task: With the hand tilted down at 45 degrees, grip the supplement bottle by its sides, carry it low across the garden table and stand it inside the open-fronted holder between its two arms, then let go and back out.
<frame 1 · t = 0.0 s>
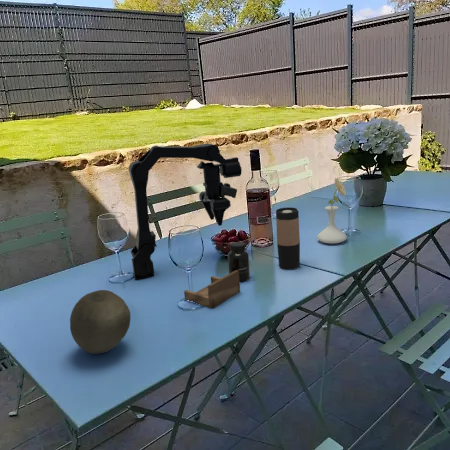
hand: (216, 222, 156), 15 cm above the table, tool pointing down, fingers open, 9 cm apart
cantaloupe: (105, 349, 107), on the table
supplement bottle: (239, 278, 142), on the table
holder: (212, 295, 131), on the table
travel mug: (289, 266, 149), on the table
flower in vase: (333, 241, 171), on the table
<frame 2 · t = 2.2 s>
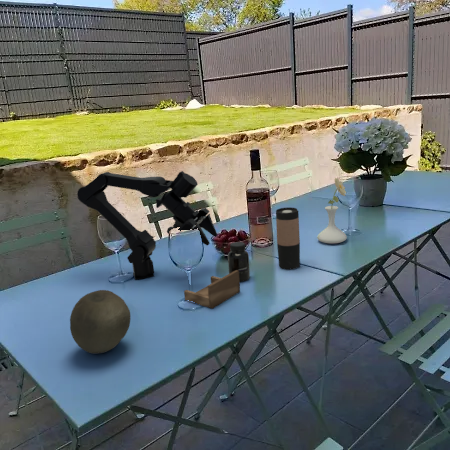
hand: (212, 240, 141), 13 cm above the table, tool tilted 45°, fingers open, 9 cm apart
nothing on the table moved.
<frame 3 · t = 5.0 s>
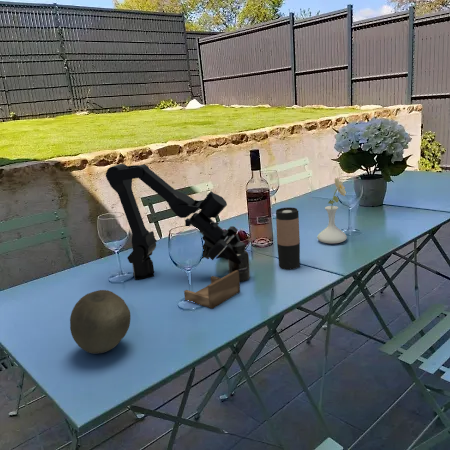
hand: (242, 259, 140), 7 cm above the table, tool tilted 45°, fingers closed on supplement bottle, 7 cm apart
supplement bottle: (239, 278, 142), on the table, touching gripper
everything else where it was.
when the fingers open (8 cm above the table, at t = 10.0 s): supplement bottle stays where it is, resting on holder.
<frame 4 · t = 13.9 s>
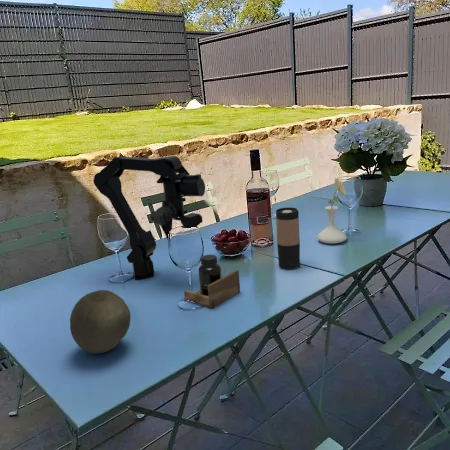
hand: (178, 242, 142), 13 cm above the table, tool pointing down, fingers open, 9 cm apart
supplement bottle: (211, 294, 131), resting on holder
everything else where it was.
at the end: supplement bottle 0.3 cm from the holder (horizontally); supplement bottle tilted 0°; supplement bottle resting on holder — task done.
